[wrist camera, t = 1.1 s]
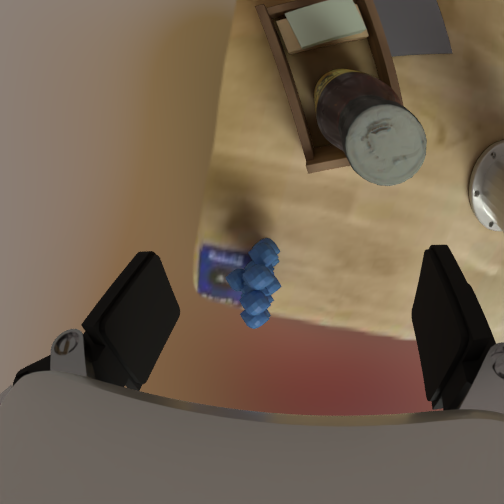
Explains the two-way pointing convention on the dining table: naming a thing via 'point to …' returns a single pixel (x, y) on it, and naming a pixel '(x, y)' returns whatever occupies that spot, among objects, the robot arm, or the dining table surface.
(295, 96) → the wooden tray
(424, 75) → the dining table surface
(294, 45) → the plate
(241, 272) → the grapes
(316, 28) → the offcut top
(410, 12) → the mat
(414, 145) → the sauce bottle
